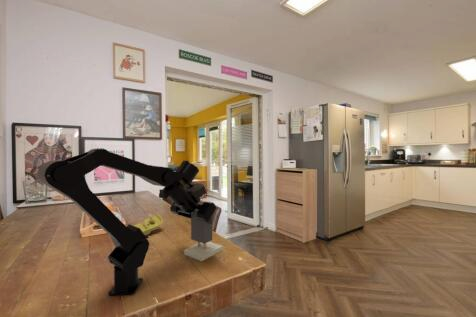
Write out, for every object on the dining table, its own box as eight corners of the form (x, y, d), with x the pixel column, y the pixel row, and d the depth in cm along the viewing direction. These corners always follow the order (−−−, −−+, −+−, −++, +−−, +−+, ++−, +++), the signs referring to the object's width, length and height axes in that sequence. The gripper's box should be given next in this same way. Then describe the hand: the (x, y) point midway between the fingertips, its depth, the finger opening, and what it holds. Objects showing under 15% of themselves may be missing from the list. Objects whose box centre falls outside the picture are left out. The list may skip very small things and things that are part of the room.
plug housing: (204, 243, 76) (204, 209, 76) (191, 239, 80) (191, 206, 80) (212, 240, 79) (212, 207, 79) (199, 236, 83) (199, 205, 83)
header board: (201, 261, 72) (201, 249, 72) (183, 253, 78) (183, 242, 78) (223, 249, 81) (222, 239, 81) (205, 243, 86) (205, 233, 86)
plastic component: (124, 238, 87) (113, 223, 92) (121, 252, 89) (111, 237, 94) (166, 222, 102) (155, 210, 107) (163, 234, 105) (153, 222, 110)
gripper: (212, 178, 71) (233, 206, 79) (176, 176, 82) (198, 200, 91) (194, 207, 64) (219, 233, 73) (158, 199, 76) (183, 223, 84)
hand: (204, 220), depth 81 cm, fingers closed on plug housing, 7 cm apart
